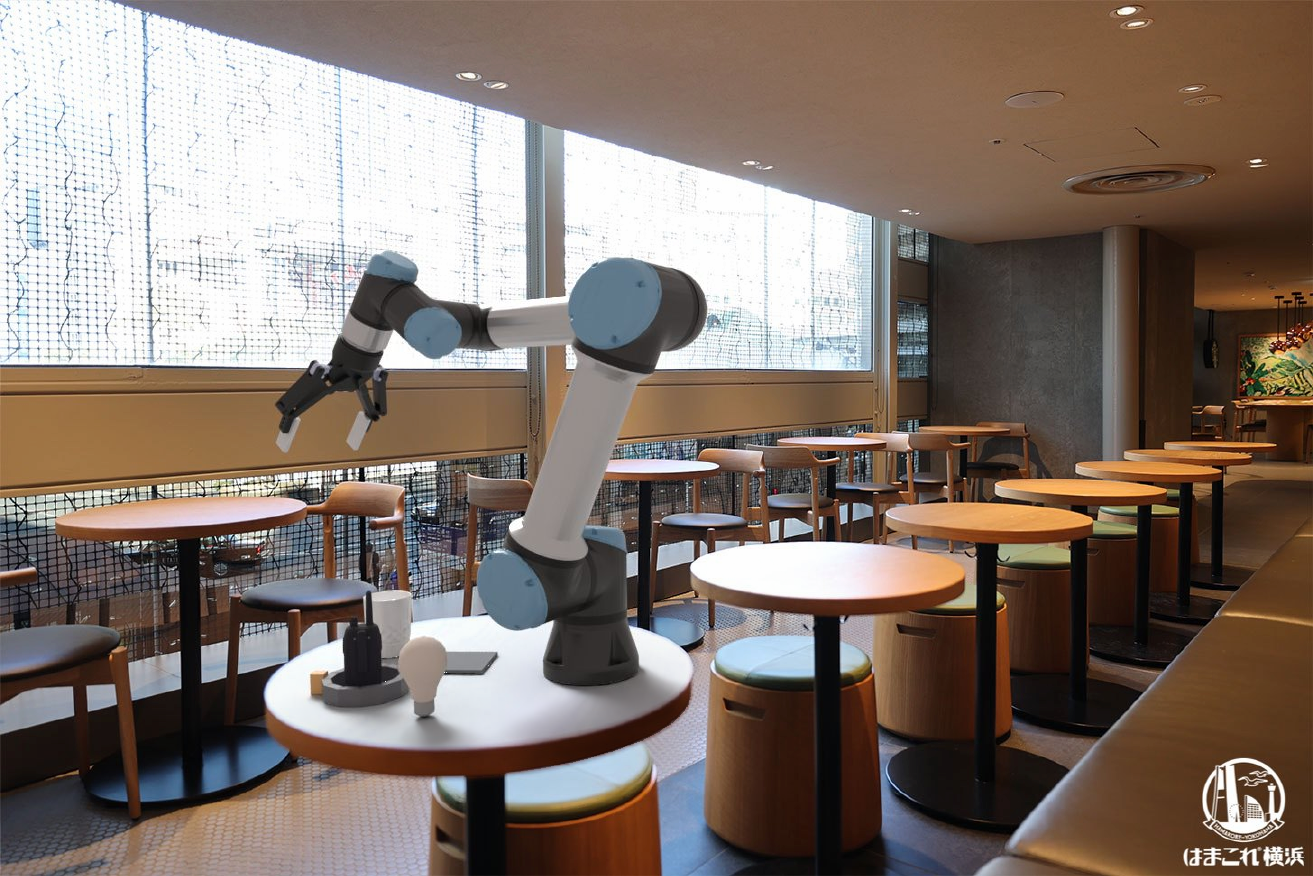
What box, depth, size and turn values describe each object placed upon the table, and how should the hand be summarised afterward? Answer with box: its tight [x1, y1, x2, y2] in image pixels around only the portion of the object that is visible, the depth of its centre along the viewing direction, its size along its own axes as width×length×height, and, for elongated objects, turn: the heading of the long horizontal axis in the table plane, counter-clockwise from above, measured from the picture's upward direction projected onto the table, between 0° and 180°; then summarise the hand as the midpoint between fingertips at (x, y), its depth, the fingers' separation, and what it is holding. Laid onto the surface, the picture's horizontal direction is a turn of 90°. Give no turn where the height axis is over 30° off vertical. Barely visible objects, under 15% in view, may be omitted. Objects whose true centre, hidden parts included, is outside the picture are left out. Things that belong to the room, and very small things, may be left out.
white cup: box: [362, 589, 413, 659], centre depth 149 cm, size 8×8×10 cm
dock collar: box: [309, 663, 410, 708], centre depth 129 cm, size 14×12×3 cm
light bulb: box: [397, 635, 448, 718], centre depth 119 cm, size 7×7×11 cm
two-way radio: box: [342, 590, 383, 687], centre depth 129 cm, size 6×4×15 cm
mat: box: [445, 651, 498, 675], centre depth 142 cm, size 10×10×1 cm
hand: (317, 446), depth 150 cm, fingers open, 13 cm apart
